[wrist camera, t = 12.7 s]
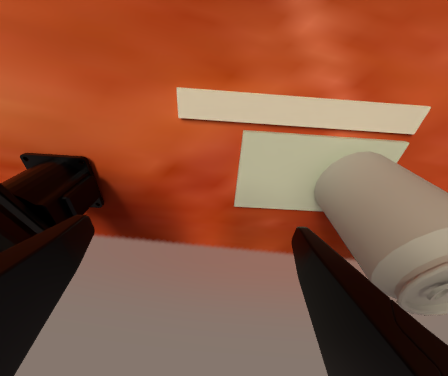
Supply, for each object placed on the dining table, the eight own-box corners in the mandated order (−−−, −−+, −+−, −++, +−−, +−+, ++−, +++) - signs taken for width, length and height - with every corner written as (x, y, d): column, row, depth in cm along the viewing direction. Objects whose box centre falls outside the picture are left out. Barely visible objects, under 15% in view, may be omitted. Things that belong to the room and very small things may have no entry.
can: (376, 201, 22) (505, 318, 12) (310, 211, 23) (377, 328, 13) (393, 140, 18) (613, 239, 8) (311, 156, 19) (412, 262, 9)
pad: (234, 203, 23) (234, 206, 22) (243, 129, 18) (243, 131, 17) (361, 211, 23) (364, 213, 23) (405, 141, 18) (409, 142, 18)
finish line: (179, 116, 17) (178, 117, 17) (177, 87, 16) (176, 87, 15) (410, 133, 18) (413, 134, 17) (427, 106, 16) (431, 107, 16)
